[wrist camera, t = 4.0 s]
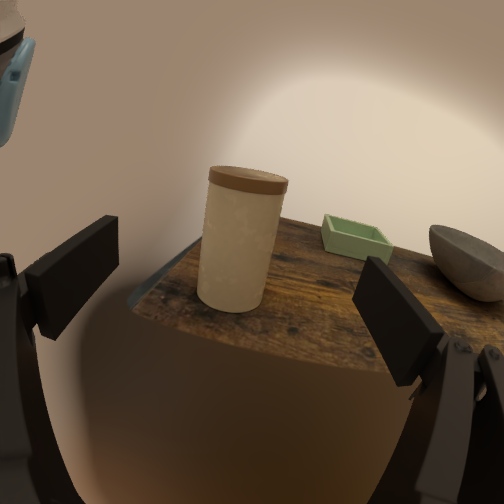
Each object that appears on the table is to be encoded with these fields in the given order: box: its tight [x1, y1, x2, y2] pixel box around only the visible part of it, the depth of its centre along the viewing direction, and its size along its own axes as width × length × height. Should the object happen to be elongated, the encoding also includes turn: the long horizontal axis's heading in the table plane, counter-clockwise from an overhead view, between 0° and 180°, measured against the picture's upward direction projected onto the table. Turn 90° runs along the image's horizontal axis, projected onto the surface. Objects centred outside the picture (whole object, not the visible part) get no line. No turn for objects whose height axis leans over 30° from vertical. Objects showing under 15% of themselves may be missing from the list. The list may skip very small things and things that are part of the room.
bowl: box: [429, 225, 504, 302], centre depth 35 cm, size 21×21×8 cm
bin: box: [321, 214, 394, 265], centre depth 44 cm, size 10×10×3 cm
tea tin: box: [197, 166, 288, 313], centre depth 23 cm, size 6×6×11 cm
